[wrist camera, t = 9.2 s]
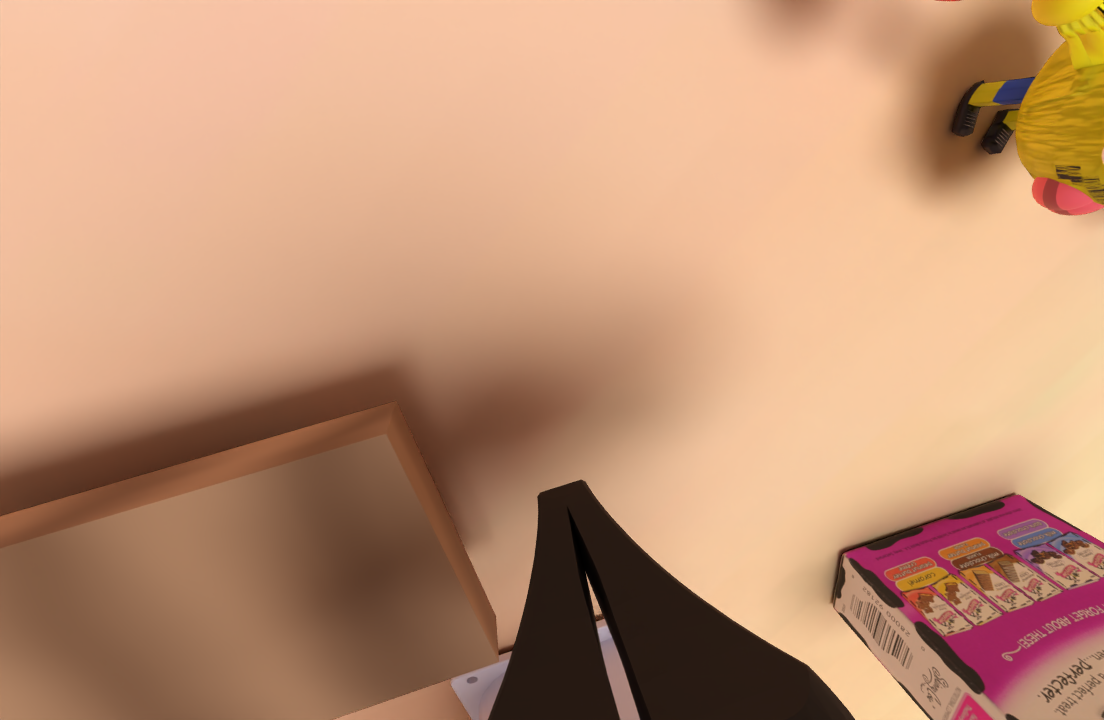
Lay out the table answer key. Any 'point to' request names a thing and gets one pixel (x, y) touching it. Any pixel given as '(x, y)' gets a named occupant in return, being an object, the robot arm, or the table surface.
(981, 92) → the toy figure
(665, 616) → the robot arm
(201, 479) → the slab
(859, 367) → the table surface
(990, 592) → the candy bar box
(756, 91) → the table surface
